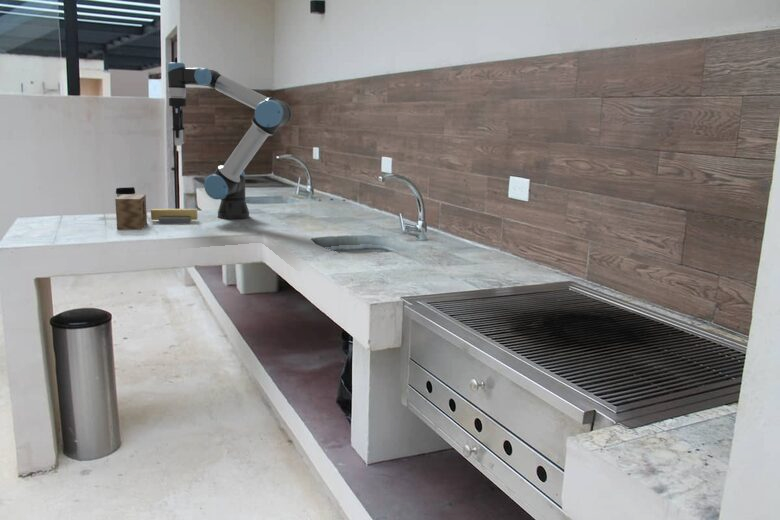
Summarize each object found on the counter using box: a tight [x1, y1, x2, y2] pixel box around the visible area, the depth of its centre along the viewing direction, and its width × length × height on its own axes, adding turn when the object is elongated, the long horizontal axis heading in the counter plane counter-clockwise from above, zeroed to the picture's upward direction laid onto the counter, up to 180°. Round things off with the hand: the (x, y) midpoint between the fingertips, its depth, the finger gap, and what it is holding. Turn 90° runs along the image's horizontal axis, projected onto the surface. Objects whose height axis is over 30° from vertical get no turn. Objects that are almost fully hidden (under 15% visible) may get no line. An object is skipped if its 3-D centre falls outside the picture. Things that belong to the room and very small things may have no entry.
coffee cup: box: [115, 186, 136, 198], centre depth 300 cm, size 8×8×15 cm
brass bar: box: [150, 208, 198, 221], centre depth 300 cm, size 20×4×4 cm, turn 103°
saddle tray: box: [158, 218, 192, 225], centre depth 300 cm, size 13×13×3 cm
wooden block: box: [114, 193, 148, 230], centre depth 284 cm, size 10×16×13 cm, turn 13°
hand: (179, 144), depth 303 cm, fingers open, 13 cm apart
